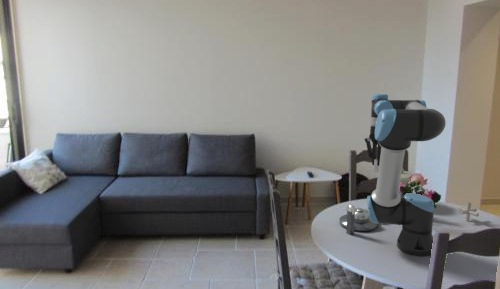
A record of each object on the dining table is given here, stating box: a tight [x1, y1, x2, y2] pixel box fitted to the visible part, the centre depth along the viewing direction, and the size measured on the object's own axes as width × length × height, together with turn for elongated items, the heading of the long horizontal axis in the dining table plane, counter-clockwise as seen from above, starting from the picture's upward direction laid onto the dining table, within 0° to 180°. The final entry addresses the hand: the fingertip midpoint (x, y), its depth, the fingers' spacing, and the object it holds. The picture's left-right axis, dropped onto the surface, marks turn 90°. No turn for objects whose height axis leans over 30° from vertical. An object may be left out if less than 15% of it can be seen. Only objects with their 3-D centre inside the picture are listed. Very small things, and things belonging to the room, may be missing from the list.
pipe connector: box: [457, 201, 480, 223], centre depth 191 cm, size 10×10×10 cm
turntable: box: [339, 214, 378, 232], centre depth 190 cm, size 19×18×5 cm
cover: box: [354, 207, 369, 224], centre depth 189 cm, size 8×8×6 cm
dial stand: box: [345, 204, 356, 236], centre depth 179 cm, size 5×2×14 cm, turn 33°
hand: (376, 171), depth 194 cm, fingers closed
